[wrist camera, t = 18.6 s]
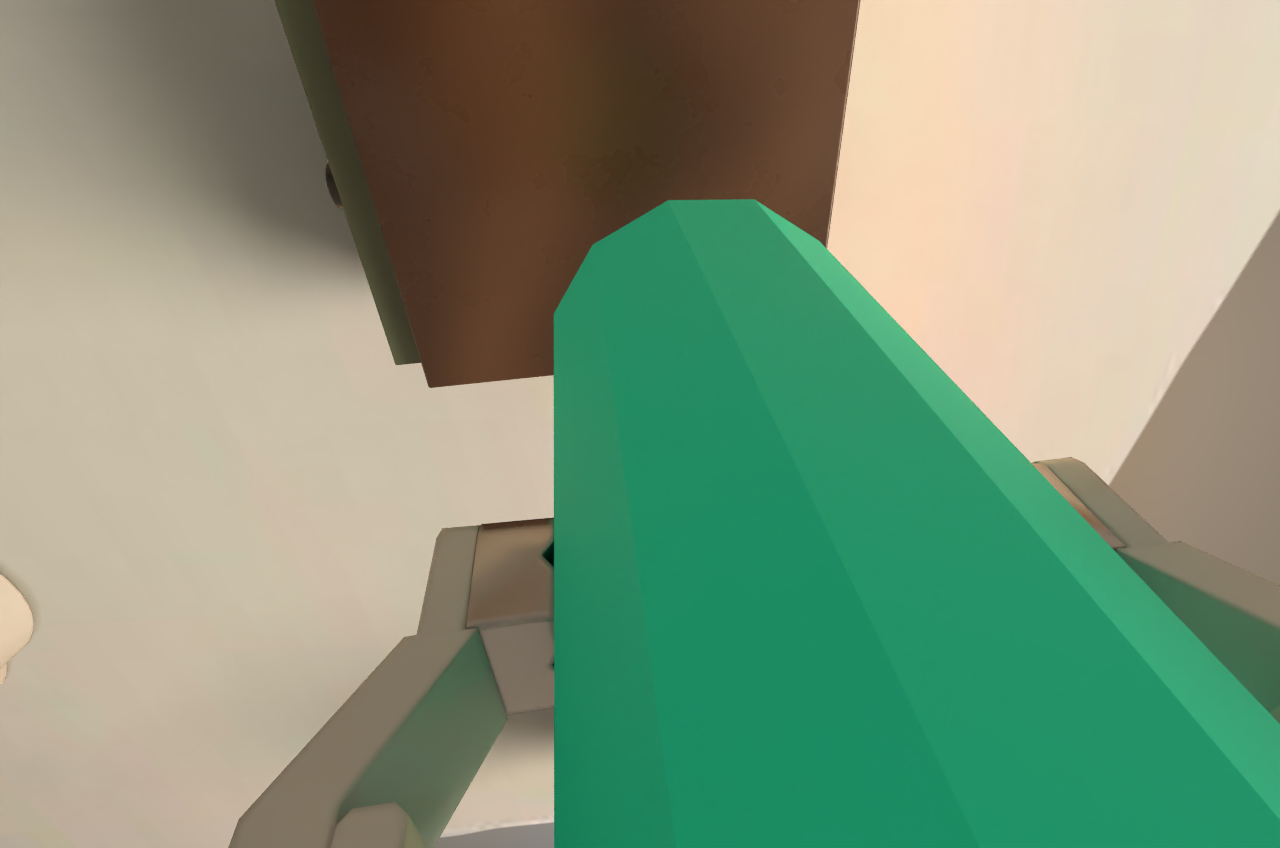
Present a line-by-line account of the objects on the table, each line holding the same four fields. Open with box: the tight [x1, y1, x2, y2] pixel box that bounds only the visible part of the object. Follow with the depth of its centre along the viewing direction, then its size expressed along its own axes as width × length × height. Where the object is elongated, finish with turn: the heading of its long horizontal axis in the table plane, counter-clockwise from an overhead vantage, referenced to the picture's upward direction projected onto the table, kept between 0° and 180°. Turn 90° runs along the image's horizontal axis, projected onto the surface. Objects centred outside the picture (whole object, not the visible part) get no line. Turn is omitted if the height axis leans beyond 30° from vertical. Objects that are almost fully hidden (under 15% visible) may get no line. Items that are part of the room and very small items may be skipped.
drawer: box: [275, 0, 421, 365], centre depth 23 cm, size 15×11×7 cm
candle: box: [554, 199, 1280, 848], centre depth 8 cm, size 6×6×12 cm
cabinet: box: [312, 0, 860, 388], centre depth 23 cm, size 15×13×9 cm
